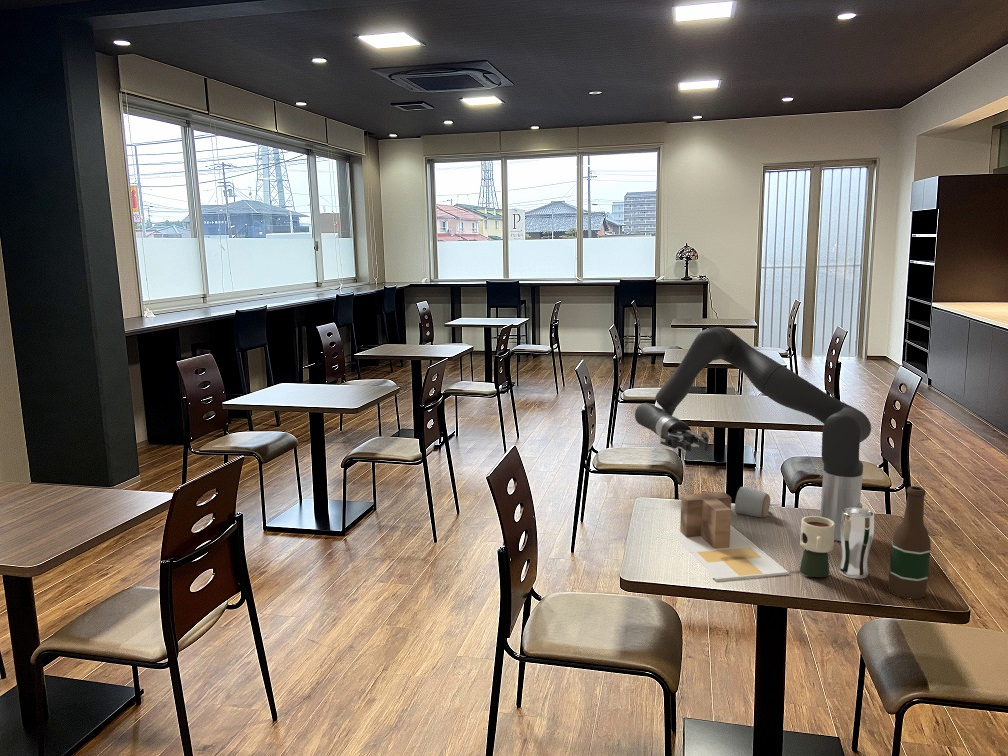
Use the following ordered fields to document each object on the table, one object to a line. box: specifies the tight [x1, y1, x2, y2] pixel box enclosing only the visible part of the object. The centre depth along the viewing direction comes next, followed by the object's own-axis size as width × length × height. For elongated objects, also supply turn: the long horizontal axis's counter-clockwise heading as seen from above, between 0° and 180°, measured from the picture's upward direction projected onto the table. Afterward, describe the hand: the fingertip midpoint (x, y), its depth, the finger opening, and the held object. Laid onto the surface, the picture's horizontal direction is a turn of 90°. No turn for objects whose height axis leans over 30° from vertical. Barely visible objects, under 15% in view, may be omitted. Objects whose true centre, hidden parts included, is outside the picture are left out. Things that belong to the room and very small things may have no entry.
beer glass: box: [838, 507, 875, 580], centre depth 176 cm, size 7×7×15 cm
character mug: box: [799, 515, 835, 578], centre depth 176 cm, size 11×7×13 cm, turn 162°
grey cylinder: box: [734, 486, 771, 519], centre depth 215 cm, size 11×8×8 cm
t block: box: [679, 491, 732, 549], centre depth 196 cm, size 12×12×10 cm
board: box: [667, 525, 789, 582], centre depth 190 cm, size 29×18×1 cm, turn 10°
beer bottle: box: [888, 485, 932, 600], centre depth 166 cm, size 8×8×24 cm
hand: (697, 447), depth 203 cm, fingers open, 4 cm apart
